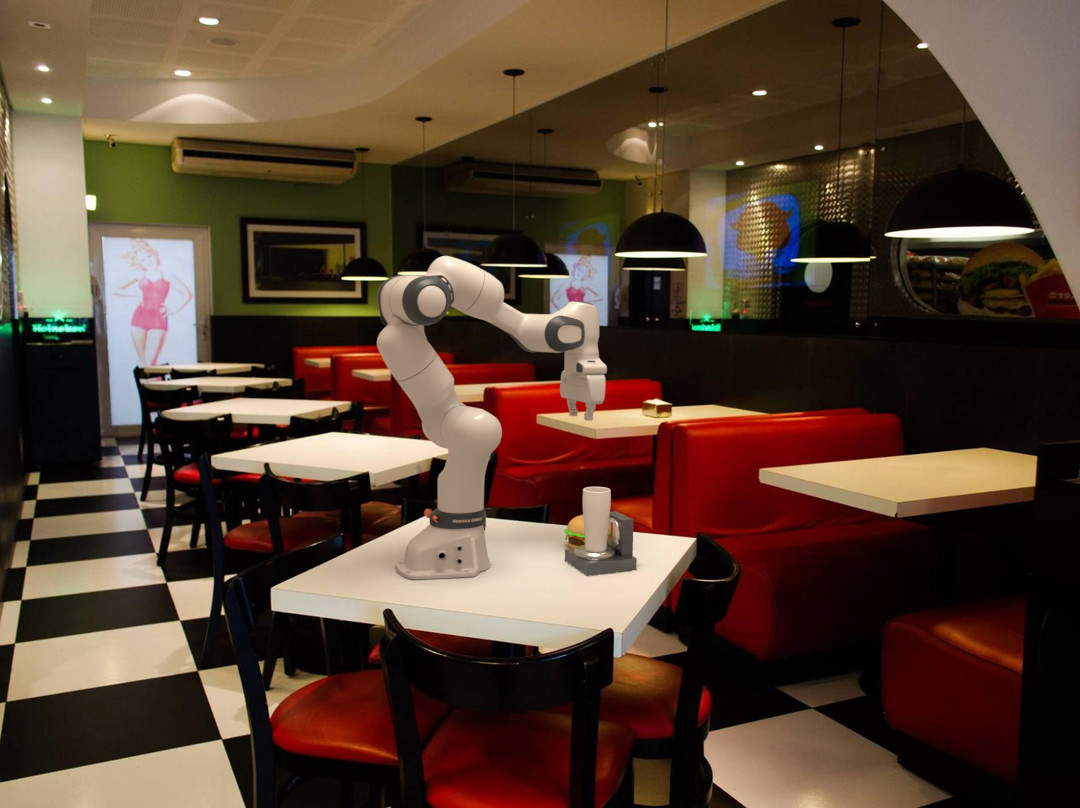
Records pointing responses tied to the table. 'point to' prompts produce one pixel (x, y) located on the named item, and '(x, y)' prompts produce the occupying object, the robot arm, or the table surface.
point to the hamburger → (575, 532)
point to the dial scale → (607, 550)
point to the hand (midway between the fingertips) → (580, 418)
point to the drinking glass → (596, 517)
